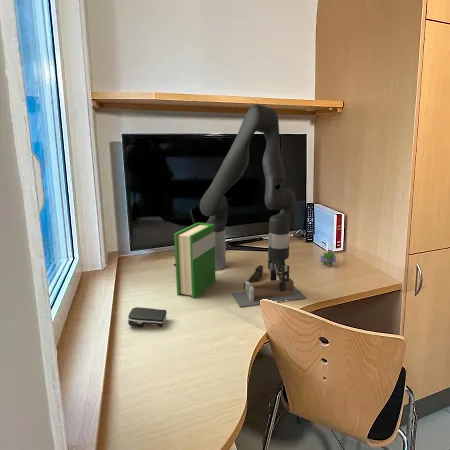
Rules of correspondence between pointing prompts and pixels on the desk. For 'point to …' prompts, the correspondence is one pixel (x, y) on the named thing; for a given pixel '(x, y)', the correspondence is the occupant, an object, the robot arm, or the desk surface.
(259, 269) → the dark brown bar
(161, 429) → the desk surface
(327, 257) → the geometric puzzle
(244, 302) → the mat
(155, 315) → the battery charger
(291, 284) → the stick
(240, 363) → the desk surface
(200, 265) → the hardback book
